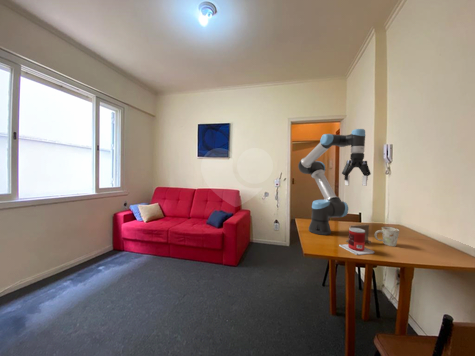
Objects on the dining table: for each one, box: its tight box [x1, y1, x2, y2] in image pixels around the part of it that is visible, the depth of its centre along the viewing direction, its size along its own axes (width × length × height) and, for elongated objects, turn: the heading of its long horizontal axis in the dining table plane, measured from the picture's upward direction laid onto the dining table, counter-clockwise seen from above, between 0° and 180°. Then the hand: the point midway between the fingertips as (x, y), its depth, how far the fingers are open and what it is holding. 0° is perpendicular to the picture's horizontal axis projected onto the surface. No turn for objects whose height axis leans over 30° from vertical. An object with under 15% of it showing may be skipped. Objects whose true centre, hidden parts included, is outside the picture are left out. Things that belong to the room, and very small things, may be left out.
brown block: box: [345, 224, 372, 244], centre depth 114 cm, size 5×14×11 cm, turn 103°
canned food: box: [347, 228, 366, 251], centre depth 103 cm, size 8×8×11 cm
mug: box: [374, 226, 400, 247], centre depth 112 cm, size 8×13×10 cm, turn 78°
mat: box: [338, 243, 375, 256], centre depth 103 cm, size 12×12×1 cm
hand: (355, 185), depth 118 cm, fingers open, 13 cm apart
